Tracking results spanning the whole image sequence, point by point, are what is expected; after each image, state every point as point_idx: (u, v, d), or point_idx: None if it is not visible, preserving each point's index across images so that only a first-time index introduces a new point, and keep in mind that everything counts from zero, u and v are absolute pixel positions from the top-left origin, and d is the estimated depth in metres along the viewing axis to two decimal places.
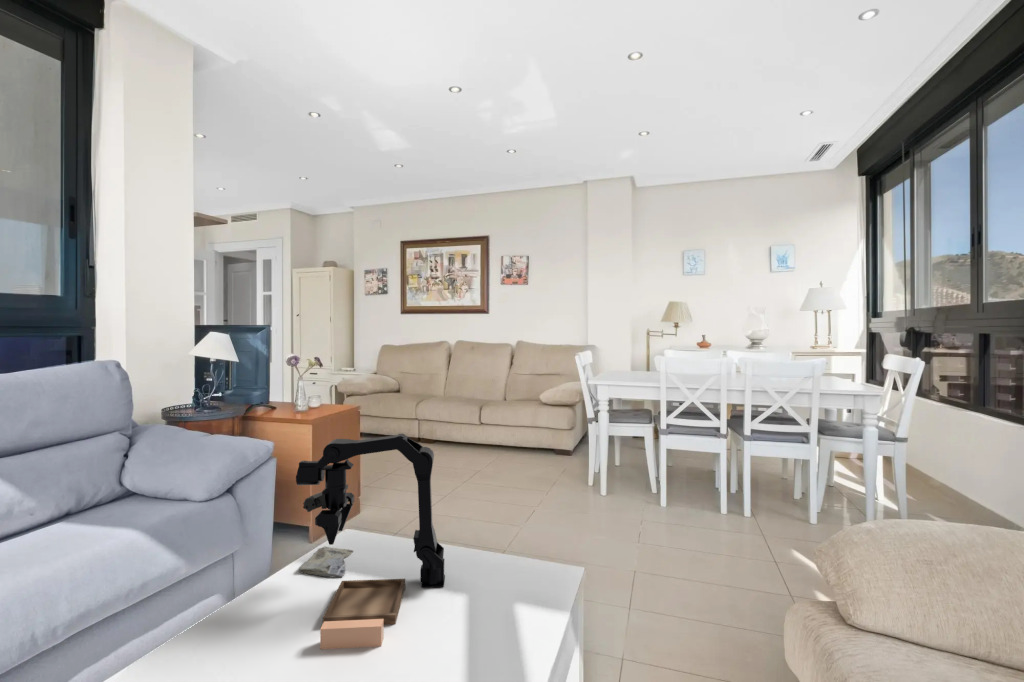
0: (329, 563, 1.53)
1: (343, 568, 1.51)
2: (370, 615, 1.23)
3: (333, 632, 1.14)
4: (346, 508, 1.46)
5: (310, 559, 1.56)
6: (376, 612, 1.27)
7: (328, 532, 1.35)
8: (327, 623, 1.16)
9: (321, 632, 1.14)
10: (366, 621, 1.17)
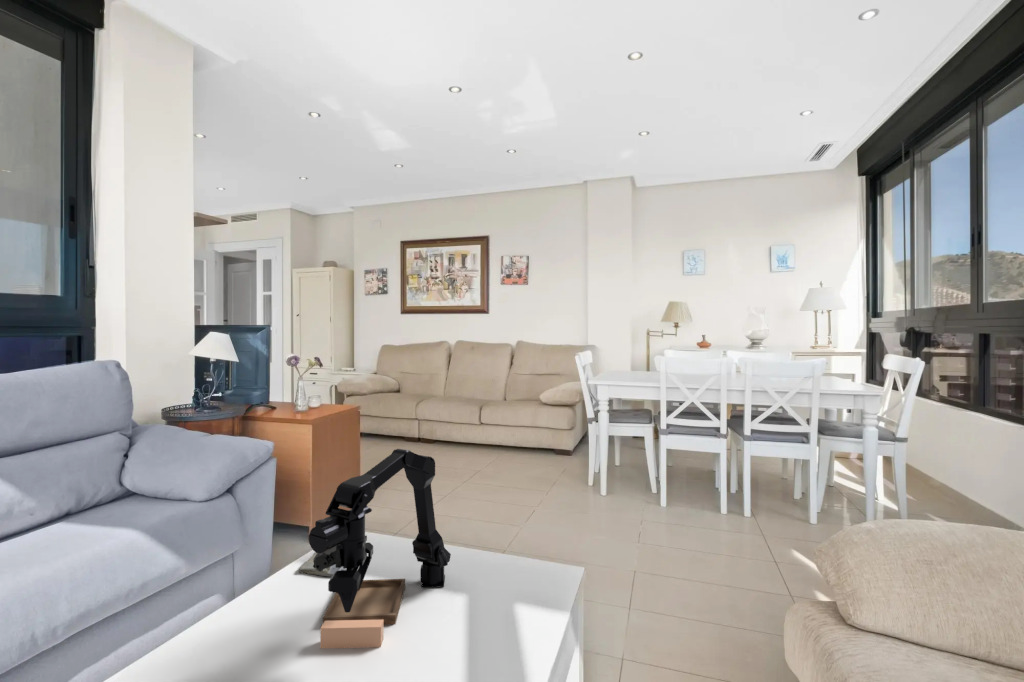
0: None
1: (343, 568, 1.51)
2: (370, 615, 1.23)
3: (333, 631, 1.14)
4: (364, 563, 1.21)
5: (310, 559, 1.56)
6: (376, 612, 1.27)
7: (344, 598, 1.10)
8: (327, 622, 1.16)
9: (321, 631, 1.14)
10: (366, 621, 1.17)
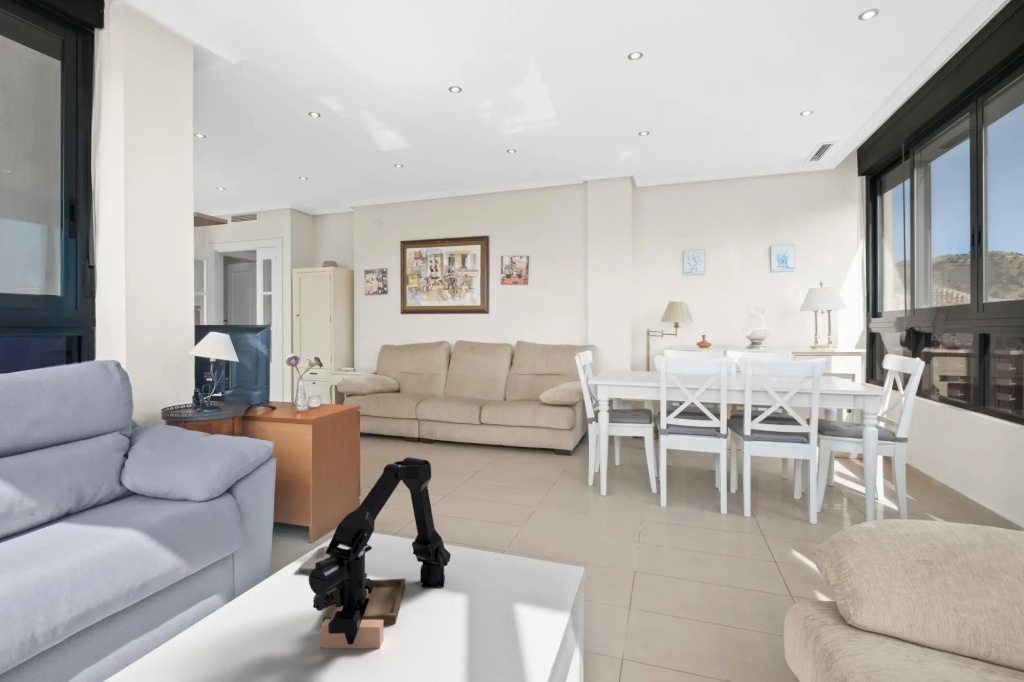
0: None
1: None
2: (370, 615, 1.23)
3: None
4: (361, 606, 1.18)
5: (310, 559, 1.55)
6: (376, 612, 1.27)
7: None
8: (328, 621, 1.16)
9: (321, 630, 1.14)
10: (366, 621, 1.17)
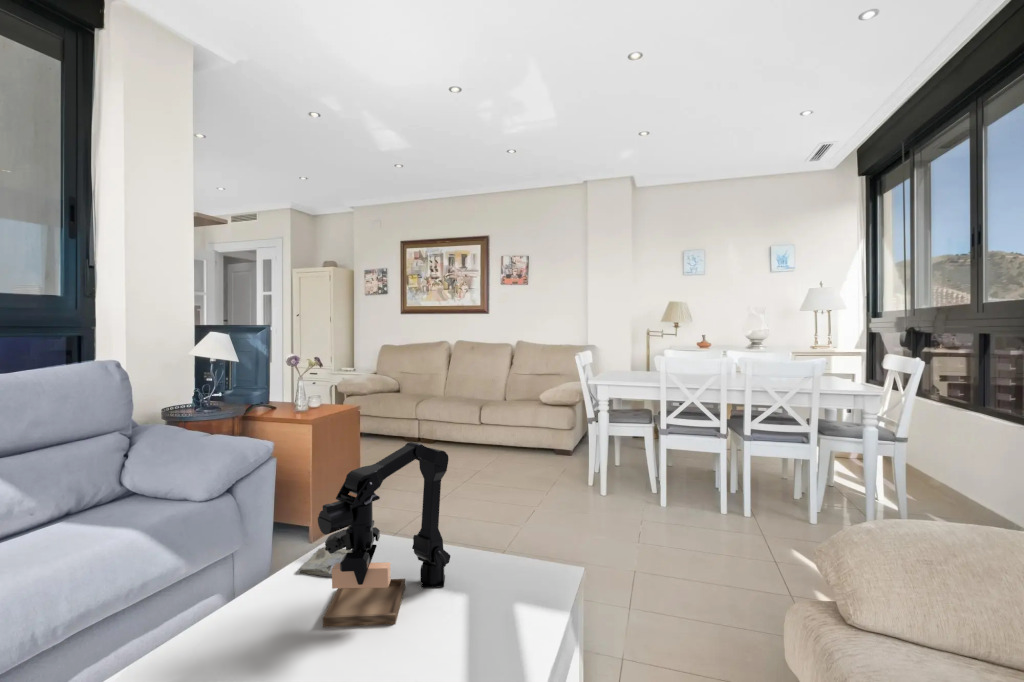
0: (330, 563, 1.53)
1: None
2: (370, 615, 1.23)
3: (344, 572, 1.23)
4: (369, 551, 1.27)
5: (310, 559, 1.55)
6: (376, 612, 1.27)
7: (357, 571, 1.21)
8: (338, 565, 1.25)
9: (332, 572, 1.23)
10: (374, 564, 1.25)
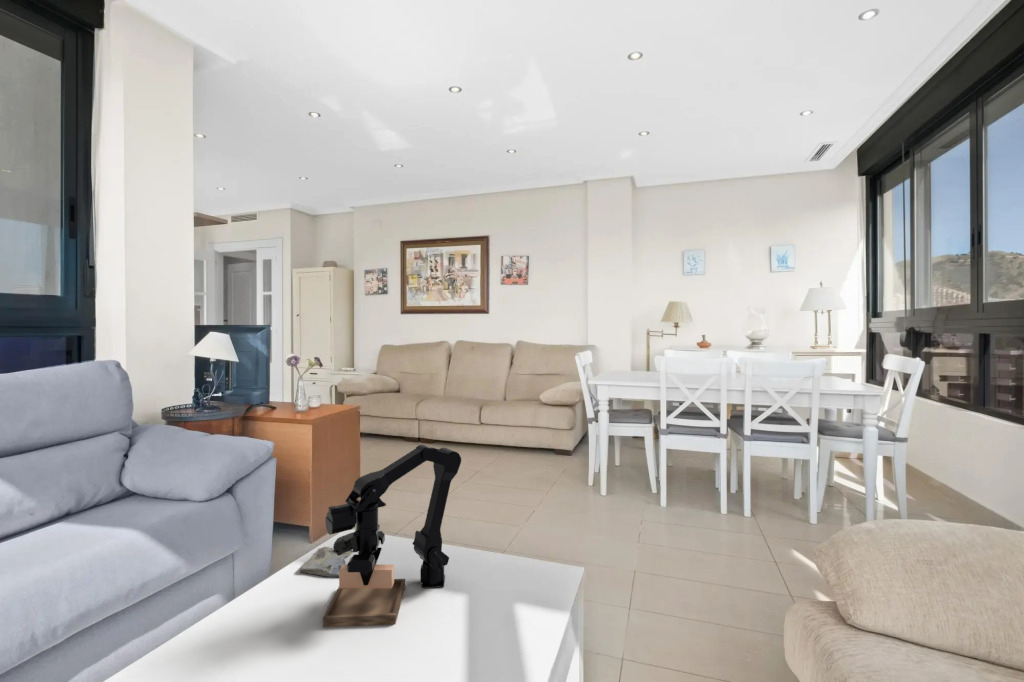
0: (330, 563, 1.53)
1: None
2: (370, 615, 1.23)
3: (350, 573, 1.30)
4: (375, 553, 1.34)
5: (310, 559, 1.55)
6: (376, 612, 1.27)
7: (363, 572, 1.29)
8: (345, 566, 1.32)
9: (340, 572, 1.30)
10: (379, 565, 1.32)
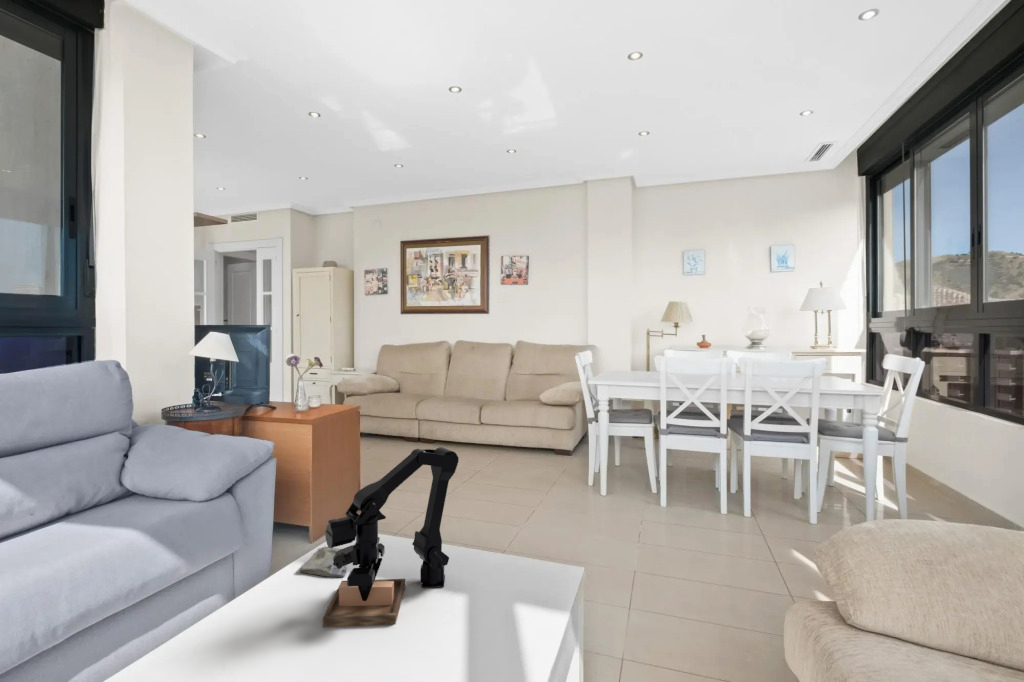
0: (330, 563, 1.53)
1: (344, 568, 1.51)
2: (370, 615, 1.23)
3: (350, 590, 1.30)
4: (376, 564, 1.35)
5: (311, 559, 1.55)
6: (376, 612, 1.27)
7: (362, 588, 1.28)
8: (345, 583, 1.32)
9: (340, 590, 1.30)
10: (379, 582, 1.33)
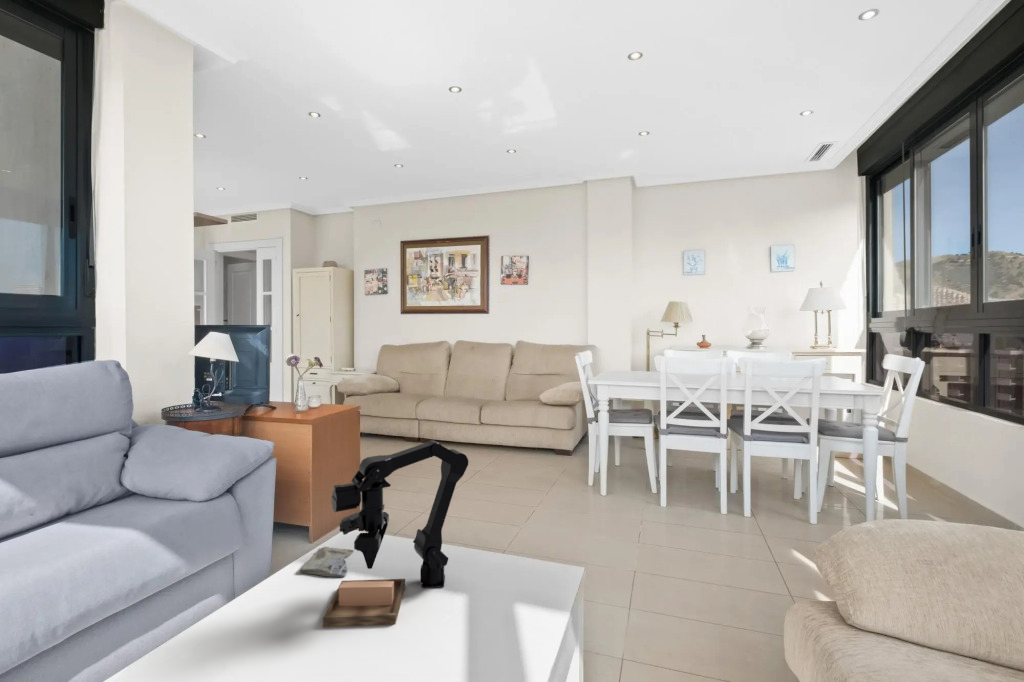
0: (330, 563, 1.53)
1: (345, 568, 1.51)
2: (370, 615, 1.23)
3: (350, 590, 1.30)
4: (382, 529, 1.39)
5: (311, 559, 1.55)
6: (376, 612, 1.27)
7: (367, 556, 1.28)
8: (345, 583, 1.32)
9: (340, 590, 1.30)
10: (379, 582, 1.33)
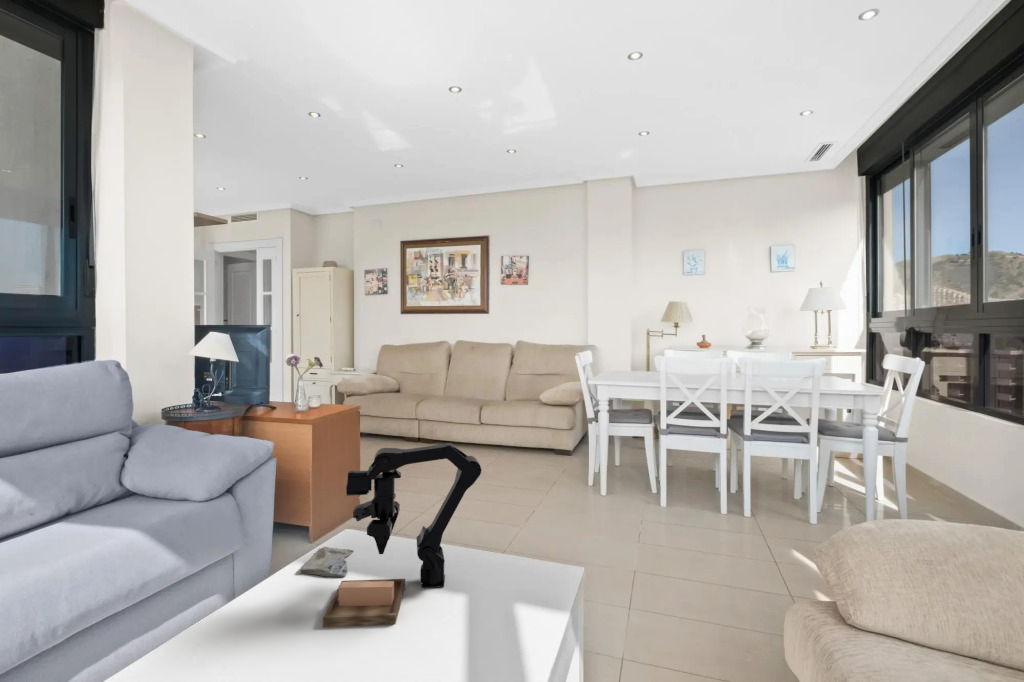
0: (330, 563, 1.53)
1: (345, 568, 1.51)
2: (370, 615, 1.23)
3: (350, 590, 1.30)
4: (393, 517, 1.46)
5: (311, 559, 1.55)
6: (376, 612, 1.27)
7: (378, 542, 1.35)
8: (345, 583, 1.32)
9: (340, 590, 1.30)
10: (379, 582, 1.33)
